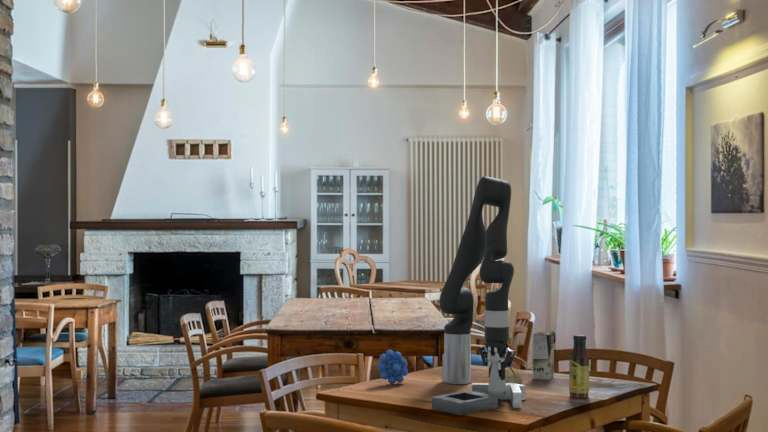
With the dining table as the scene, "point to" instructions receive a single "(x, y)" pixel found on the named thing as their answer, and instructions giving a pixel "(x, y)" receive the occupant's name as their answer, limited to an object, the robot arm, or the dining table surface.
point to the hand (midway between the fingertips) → (496, 380)
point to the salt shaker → (496, 380)
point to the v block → (512, 393)
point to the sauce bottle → (579, 368)
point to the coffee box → (543, 355)
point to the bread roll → (512, 376)
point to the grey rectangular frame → (464, 402)
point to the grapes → (392, 366)
